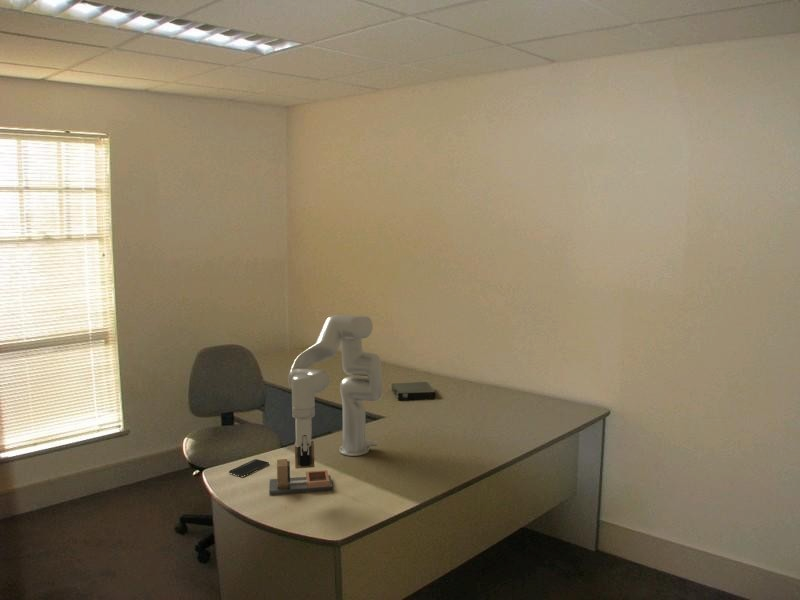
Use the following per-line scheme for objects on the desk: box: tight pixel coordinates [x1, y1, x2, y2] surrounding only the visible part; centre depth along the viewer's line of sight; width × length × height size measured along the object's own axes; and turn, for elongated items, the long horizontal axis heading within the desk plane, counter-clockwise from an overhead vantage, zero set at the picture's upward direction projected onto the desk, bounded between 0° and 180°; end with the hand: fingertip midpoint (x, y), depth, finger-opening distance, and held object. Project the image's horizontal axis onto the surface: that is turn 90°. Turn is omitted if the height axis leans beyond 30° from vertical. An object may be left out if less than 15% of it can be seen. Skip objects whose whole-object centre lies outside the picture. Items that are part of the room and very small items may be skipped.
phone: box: [228, 458, 270, 476], centre depth 240 cm, size 8×1×15 cm
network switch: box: [391, 381, 437, 402], centre depth 344 cm, size 23×23×5 cm
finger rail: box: [268, 458, 333, 496], centre depth 224 cm, size 22×10×10 cm, turn 101°
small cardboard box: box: [294, 440, 315, 469], centre depth 212 cm, size 6×4×8 cm
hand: (304, 462), depth 212 cm, fingers closed on small cardboard box, 4 cm apart
